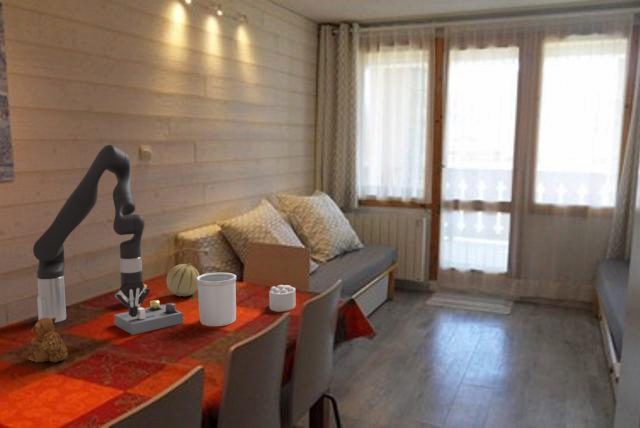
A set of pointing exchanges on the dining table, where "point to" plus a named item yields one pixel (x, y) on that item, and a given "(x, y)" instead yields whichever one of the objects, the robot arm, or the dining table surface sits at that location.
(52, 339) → the brown teddy bear
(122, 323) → the panel
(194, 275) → the cantaloupe
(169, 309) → the button dark gray
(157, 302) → the button brass
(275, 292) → the lumpy-topped squat cylinder
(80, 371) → the dining table surface
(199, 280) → the utensil holder
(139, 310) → the matte white cuboid
